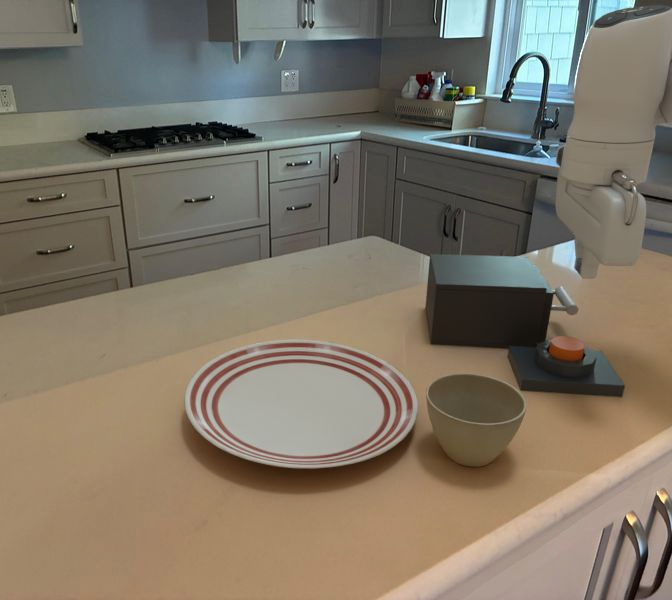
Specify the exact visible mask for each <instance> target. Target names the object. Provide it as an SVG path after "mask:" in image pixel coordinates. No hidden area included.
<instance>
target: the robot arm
mask: <svg viewBox="0 0 672 600" xmlns="http://www.w3.org/2000/svg"><path fill="white" fill-rule="evenodd" d="M572 100H573V108H574V109H573V117H572V121H571V123H570V125H569V127H568V130H567V132H566V139H565V143H564V144H563V145H561V146H559V147H558V148H557V150H556V154H555V155H556V156H555V163H556V165H557V166H558V167H559V169H558V171H557V177H556V178H557V179H556V191H555V204H554V205H555V213H556V217H557V218H558V219H559V220H560V221H561V222H562V224H564V225H565V227H566V228H567V229H568V230H569V231H570V232H571V233H572V234H573V235H574V241H573V242H574V252H575V259H574V266H573V268H574V270H575V271H576V272H577V273H578V275H579V277H580V278H582V279H583V280H593V279H596V278H597V276H598V270H599V266H600V265H603V266H608V267H632V266H634V265H635V264H636V263H637V262H638V261H639V259H640V257H641V254H642V253H641V252H642V246H643V241H644V235H645V227H646V218H647V202H646V199H645V197H644V195H642V194H641V193H640V192H639V191H638V189H637V188H638V184H639V185H640V184H642V183H644V182H646V180H647V177H648V172H649V168H650V163H651V158H652V153H653V148H654V144H655V139H656V127H657V126H660V127H666V128H670V129H671V128H672V7H671V6H670V5H669V6H668V5H666V4H647V5H638V6H635V7H626V8H622V9H617V10H613V11H611V12H607V13H605V14H602V15H601V16H600V17H599V18H597V19H595V20H594V22H593V23H592V25H591V26H590V27H589V30H588V31H587V34H586V36H585V39H584V42H583V44H582V47H581V52H580V55H579V60H578V64H577V69H576V73H575V79H574V86H573V94H572Z"/></svg>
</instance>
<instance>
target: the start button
mask: <svg viewBox="0 0 672 600" xmlns="http://www.w3.org/2000/svg"><path fill="white" fill-rule="evenodd" d="M550 340H551V342H550V347H549V354H550V355H551V356H553V357H555V358H558V359H561V360H565V361H579V360H582V358H583V353H584V348H585V347H586V345H585V343H584V341H582V340H580V339H577V338H576V337H572V336H567V335H558V336H554V337H552V338H551V339H550Z"/></svg>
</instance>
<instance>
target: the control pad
mask: <svg viewBox="0 0 672 600" xmlns="http://www.w3.org/2000/svg"><path fill="white" fill-rule="evenodd" d="M550 342H551V339H550V340H546V341H545V342H541V343H538V344H537V347H522V346H509V349H507V350H508V351H507V359H508V362H509V364H510V367H511V369H512V372H513V374H514V377H515V380H516V382H517V385H518V388H519V391H520V392H521V391H524V392H539V393H554V394H569V395H582V396H583V395H584V396H599V397H612V398H613V397H614V398H615V397H616V398H623V395H624V392H625V388H626V385H625V383H624V382H623V380H622V379H621V377H620V376H619V374H618V372H616V370H615V368H614V367H613V365H612V364H611V363H610V361H609V360H608V358H607V357H606V355H605V354H604V352H603V350H594V349H590V348H588V347H587V346H585V348H584V353H583V358H582V360H579V361H565V360H561V359H558V358H555V357H553V356H551V355H550V354H549V347H550Z"/></svg>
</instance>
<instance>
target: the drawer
mask: <svg viewBox="0 0 672 600" xmlns="http://www.w3.org/2000/svg"><path fill="white" fill-rule="evenodd" d="M531 264H532V266H533V267H534V269H535V271H536V272H537V274H538V275H539V277H540V279H541V280H542V282H543V283H544V285H545V287H546V288H547V290H546V296H545V302H544V308H543V314H542V319H541V325H540V331H539V337H538V343H537V344H540V343H541V342H545V341H547V334H548V329H549V324H550V319H551V312H552V311H553V312H554V311H555V312H565V313H566V314H567V315H569V316H574V315H577V314H578V312H579V306H578V305H577V304H576V302H575V301H574V299H573V297H572V296H570V293H568V290H567V289H566V288H565V287H564V286H562V285H561V286H556V287H555V289H552V288H551V286H550V285H549V283H548V282H547V280H546V278H545V277H544V276H543V274H542V272H541V271H540V269H539V267H538V266H537V264H536V263H531ZM554 295H555V297H556V298H557V300H558V301H559V303H560V305H555V304H553V300H554Z"/></svg>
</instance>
